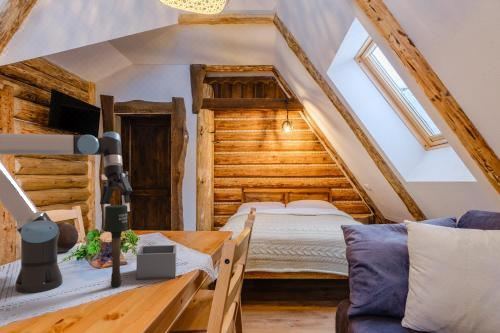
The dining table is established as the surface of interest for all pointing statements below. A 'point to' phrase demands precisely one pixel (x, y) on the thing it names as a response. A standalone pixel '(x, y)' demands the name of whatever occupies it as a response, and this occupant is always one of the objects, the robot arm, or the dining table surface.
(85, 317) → the dining table surface
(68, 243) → the wooden sphere
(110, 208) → the stick grenade
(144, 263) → the bin
